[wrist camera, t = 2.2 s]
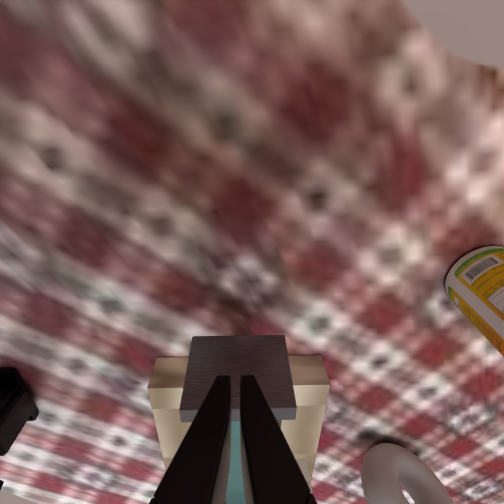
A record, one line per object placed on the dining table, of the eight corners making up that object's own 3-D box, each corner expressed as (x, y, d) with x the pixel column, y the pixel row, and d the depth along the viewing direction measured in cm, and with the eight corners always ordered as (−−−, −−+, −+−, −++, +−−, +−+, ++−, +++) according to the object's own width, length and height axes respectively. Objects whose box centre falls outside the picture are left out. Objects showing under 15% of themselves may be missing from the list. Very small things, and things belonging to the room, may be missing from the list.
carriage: (202, 510, 33) (195, 587, 28) (177, 331, 21) (157, 410, 16) (279, 508, 33) (286, 583, 28) (299, 329, 21) (317, 407, 16)
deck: (187, 517, 41) (183, 547, 38) (156, 357, 27) (147, 388, 24) (295, 513, 41) (298, 543, 39) (321, 354, 27) (329, 384, 24)
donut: (433, 448, 35) (498, 572, 26) (412, 463, 36) (467, 586, 27) (361, 425, 32) (406, 554, 24) (341, 442, 34) (376, 571, 25)
